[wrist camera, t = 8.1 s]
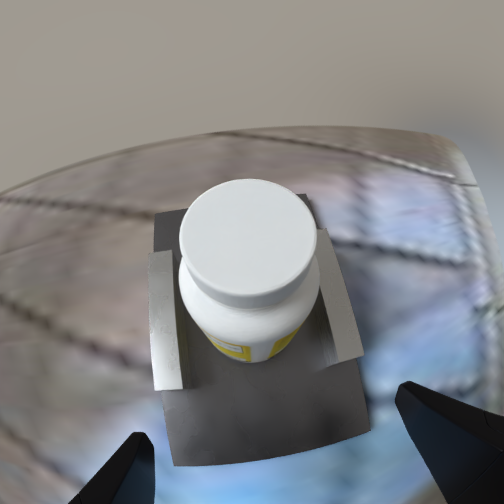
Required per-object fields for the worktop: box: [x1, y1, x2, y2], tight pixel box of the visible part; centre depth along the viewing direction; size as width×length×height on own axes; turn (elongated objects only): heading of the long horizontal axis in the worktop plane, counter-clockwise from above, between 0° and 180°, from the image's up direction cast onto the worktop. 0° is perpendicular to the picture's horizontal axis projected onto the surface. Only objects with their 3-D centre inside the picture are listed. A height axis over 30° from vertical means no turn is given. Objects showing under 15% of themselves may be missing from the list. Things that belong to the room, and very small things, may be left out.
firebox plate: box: [148, 194, 371, 466], centre depth 16 cm, size 18×12×3 cm, turn 9°
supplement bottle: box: [179, 179, 320, 363], centre depth 12 cm, size 5×5×10 cm
